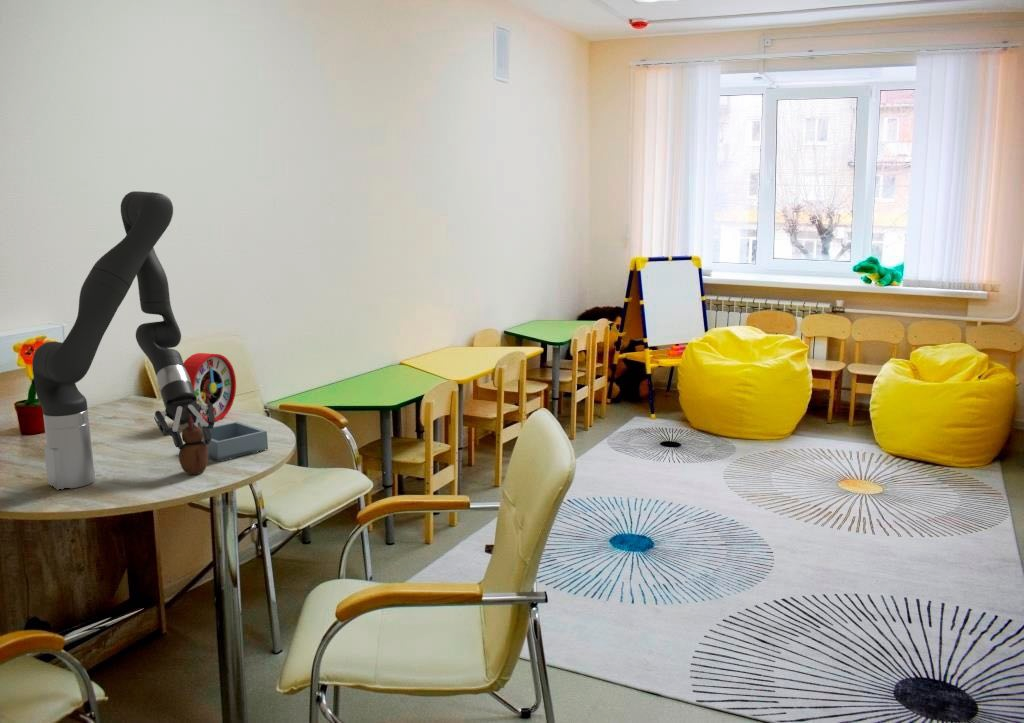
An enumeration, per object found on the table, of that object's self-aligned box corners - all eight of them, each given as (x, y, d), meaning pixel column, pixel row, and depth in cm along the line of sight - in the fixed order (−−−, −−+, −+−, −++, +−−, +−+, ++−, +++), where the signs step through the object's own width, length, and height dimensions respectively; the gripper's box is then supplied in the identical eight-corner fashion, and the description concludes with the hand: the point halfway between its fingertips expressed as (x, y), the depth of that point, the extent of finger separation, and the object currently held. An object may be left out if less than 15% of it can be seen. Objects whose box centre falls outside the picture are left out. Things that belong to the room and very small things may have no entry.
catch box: (218, 461, 223) (217, 442, 222) (190, 450, 233) (188, 432, 232) (268, 449, 233) (266, 431, 232) (238, 439, 243) (237, 421, 242)
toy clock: (195, 429, 253) (189, 360, 250) (178, 428, 255) (172, 359, 251) (238, 412, 272) (233, 348, 268) (222, 411, 274) (217, 347, 270)
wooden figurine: (198, 477, 211) (193, 415, 208) (176, 475, 212) (171, 414, 209) (213, 468, 217) (209, 409, 214) (192, 467, 218) (187, 407, 216)
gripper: (147, 383, 212) (165, 442, 205) (207, 375, 220) (227, 431, 213) (143, 400, 217) (161, 458, 210) (202, 392, 226) (222, 447, 219)
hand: (194, 444), depth 212 cm, fingers closed on wooden figurine, 5 cm apart
